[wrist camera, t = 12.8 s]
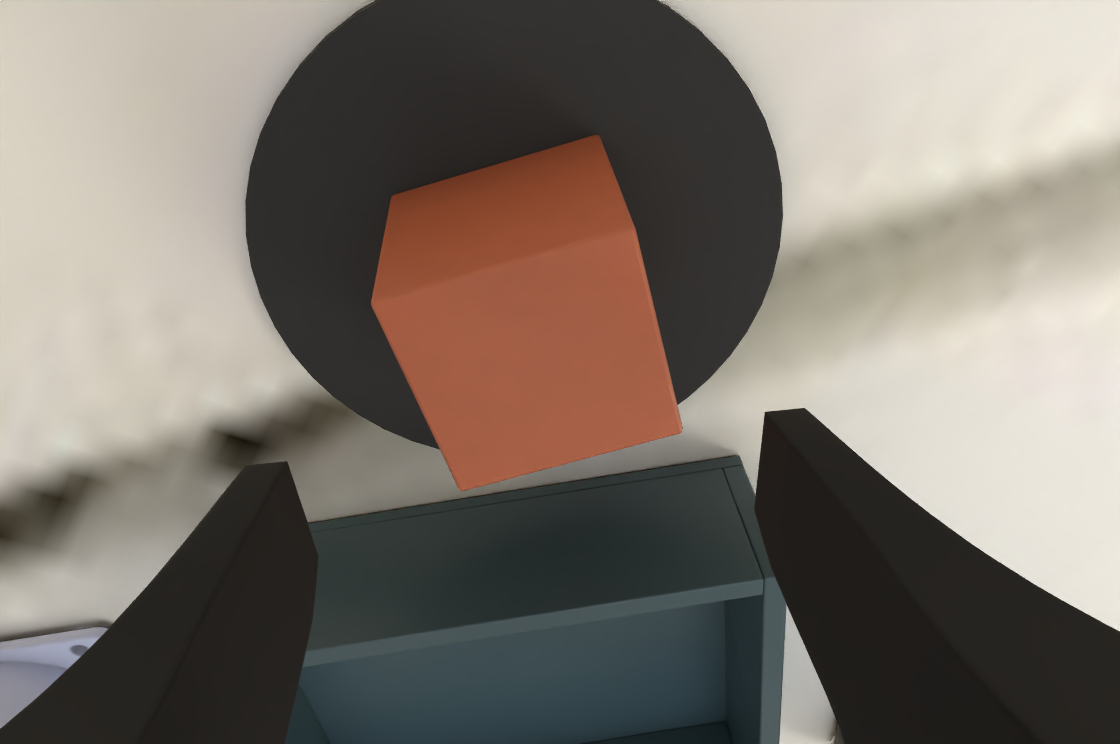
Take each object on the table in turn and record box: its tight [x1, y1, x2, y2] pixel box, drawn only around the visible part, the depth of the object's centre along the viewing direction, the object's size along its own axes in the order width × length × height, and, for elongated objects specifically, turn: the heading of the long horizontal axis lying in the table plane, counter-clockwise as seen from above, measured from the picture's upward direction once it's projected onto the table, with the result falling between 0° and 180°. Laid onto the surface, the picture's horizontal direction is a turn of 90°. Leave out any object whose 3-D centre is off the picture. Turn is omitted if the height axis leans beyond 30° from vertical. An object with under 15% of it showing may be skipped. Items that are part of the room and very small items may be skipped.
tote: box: [285, 456, 786, 744], centre depth 25 cm, size 15×13×4 cm
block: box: [371, 135, 683, 491], centre depth 17 cm, size 5×5×5 cm
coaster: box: [246, 0, 783, 449], centre depth 19 cm, size 12×12×1 cm
